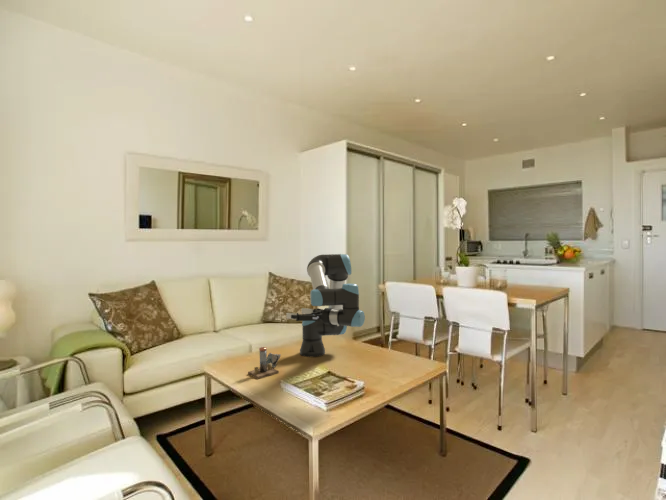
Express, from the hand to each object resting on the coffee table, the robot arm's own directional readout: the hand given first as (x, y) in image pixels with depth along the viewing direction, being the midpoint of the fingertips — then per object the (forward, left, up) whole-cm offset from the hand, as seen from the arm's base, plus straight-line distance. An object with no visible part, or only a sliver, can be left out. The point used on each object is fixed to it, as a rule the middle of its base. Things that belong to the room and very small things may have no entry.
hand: (294, 313), depth 187 cm
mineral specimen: (-2, -23, -32) cm, 40 cm away
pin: (+9, -16, -31) cm, 36 cm away
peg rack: (+9, -16, -32) cm, 37 cm away
